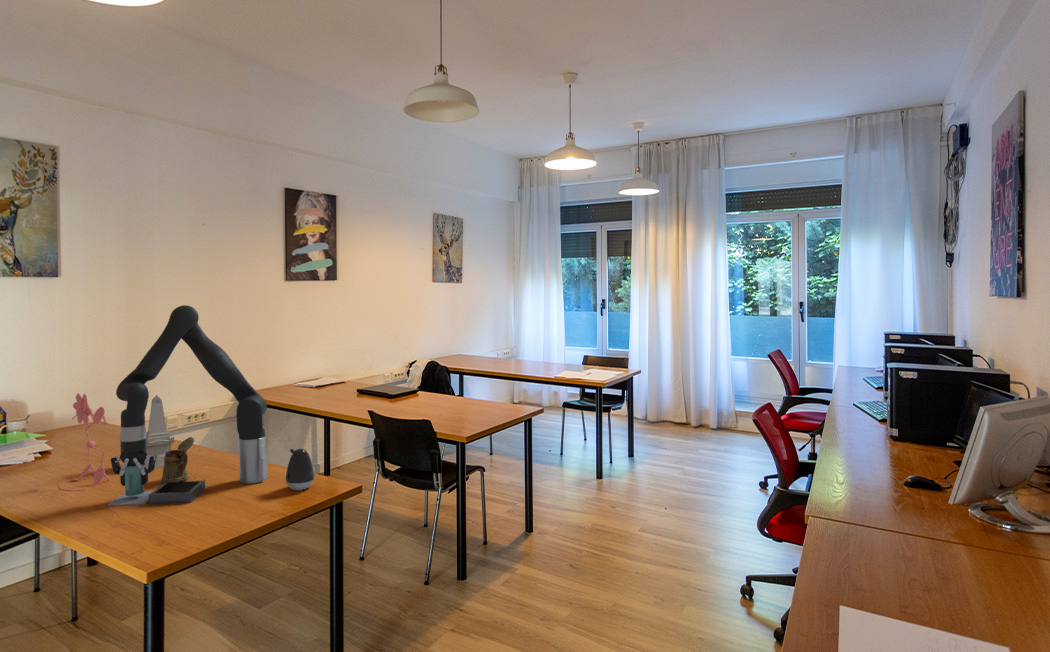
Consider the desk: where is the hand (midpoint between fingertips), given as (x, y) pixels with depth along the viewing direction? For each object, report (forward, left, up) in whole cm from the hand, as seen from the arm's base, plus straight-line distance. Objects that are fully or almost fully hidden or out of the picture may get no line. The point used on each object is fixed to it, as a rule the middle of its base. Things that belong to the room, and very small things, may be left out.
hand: (134, 484), depth 198 cm
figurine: (+27, -20, -5) cm, 34 cm away
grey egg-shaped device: (-55, -3, -5) cm, 55 cm away
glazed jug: (0, 0, -3) cm, 3 cm away
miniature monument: (+10, -43, -5) cm, 45 cm away
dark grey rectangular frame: (-14, 0, -5) cm, 15 cm away
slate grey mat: (0, 0, -5) cm, 5 cm away
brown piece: (-7, -19, -5) cm, 21 cm away
